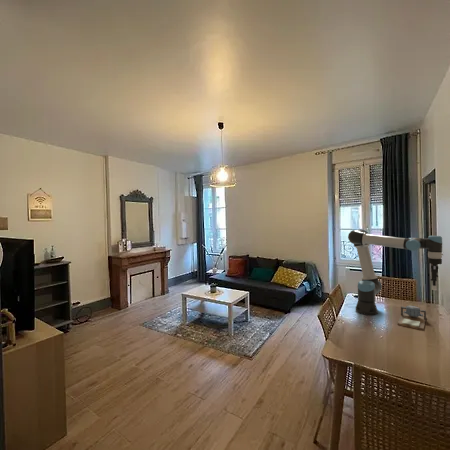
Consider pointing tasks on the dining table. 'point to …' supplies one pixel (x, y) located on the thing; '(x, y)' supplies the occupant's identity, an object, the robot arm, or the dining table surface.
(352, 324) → the dining table surface
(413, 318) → the base
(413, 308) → the cap
